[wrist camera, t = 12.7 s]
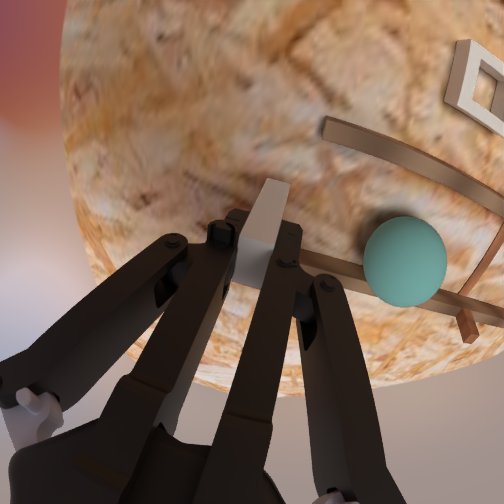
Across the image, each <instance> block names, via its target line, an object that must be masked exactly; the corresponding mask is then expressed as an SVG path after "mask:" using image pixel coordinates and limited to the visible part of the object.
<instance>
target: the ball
mask: <svg viewBox="0 0 504 504" xmlns="http://www.w3.org/2000/svg"><path fill="white" fill-rule="evenodd" d="M363 269H364V274H365V277H366V280H367V282H368V284H369V286H370V288H371V289H372V291H373V292H374V293H375V294H376V296H377V297H379V298H380V299H381V300H383V301H384V302H386V303H388V304H390V305H393V306H396V307H413V306H417V305H419V304H422V303H424V302H425V301H427V300H428V299H430V298H431V297H432V296H433V295H434V294H435V293H436V292H437V290H438V289H439V288H440V286H441V284H442V282H443V280H444V277H445V274H446V270H447V254H446V249H445V245H444V243H443V241H442V239H441V237H440V235H439V234H438V233H437V231H436V230H435V229H434V228H433V227H432V226H431V225H429V224H428V223H427V222H425V221H423V220H421V219H418V218H415V217H410V216H402V217H396V218H393V219H390V220H388V221H386V222H384V223H383V224H381V225H380V226H379V227H378V228H377V229H376V230H375V231H374V232H373V233H372V235H371V236H370V238H369V240H368V242H367V244H366V247H365V251H364V256H363Z"/></svg>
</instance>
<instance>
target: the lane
mask: <svg viewBox="0 0 504 504" xmlns="http://www.w3.org/2000/svg"><path fill="white" fill-rule="evenodd" d="M322 139H323V140H326V141H330V142H333V143H336V144H340V145H343V146H346V147H349V148H352V149H355V150H358V151H361V152H364V153H367V154H370V155H373V156H375V157H378V158H381V159H383V160H386V161H389V162H391V163H394V164H396V165H399V166H401V167H404V168H406V169H409V170H411V171H413V172H416V173H418V174H420V175H423V176H425V177H427V178H429V179H432V180H434V181H436V182H438V183H440V184H442V185H444V186H446V187H448V188H450V189H452V190H454V191H456V192H458V193H460V194H462V195H464V196H466V197H468V198H470V199H472V200H473V201H475V202H477V203H479V204H481V205H482V206H484V207H486V208H488V209H489V210H491V211H493V212H494V213H496V214H498V215H499V216H501V217H503V218H504V196H502V195H501V194H499V193H498V192H496V191H494V190H493V189H491V188H490V187H488V186H487V185H485V184H483V183H482V182H480V181H478V180H477V179H475V178H473V177H472V176H470V175H468V174H466V173H465V172H463V171H461V170H459V169H457V168H455V167H454V166H452V165H450V164H448V163H446V162H444V161H442V160H440V159H438V158H436V157H434V156H432V155H430V154H428V153H425V152H423V151H421V150H419V149H417V148H414V147H412V146H410V145H408V144H405V143H403V142H400V141H398V140H396V139H393V138H391V137H388V136H385V135H383V134H380V133H378V132H375V131H372V130H369V129H367V128H364V127H361V126H358V125H355V124H352V123H349V122H346V121H342V120H339V119H336V118H333V117H329V116H326V118H325V122H324V126H323V130H322ZM503 242H504V223H503V225H502V227H501V229H500V230H499V232H498V234H497V236H496V237H495V239H494V241H493V242H492V244H491V246H490V247H489V249H488V251H487V252H486V254H485V255H484V257H483V259H482V260H481V262H480V263H479V265H478V266H477V268H476V269H475V271H474V272H473V274H472V275H471V276H470V278H469V279H468V281H467V282H466V283H465V285H464V286H463V288H462V289H461V290H460V292H459V293H458V294H455V293H452V292H449V291H446V290H442V289H438V290H437V292H436V293H435V294H434V295H433V296H432V297H431V298H430V299H428V300H427V301H425V302H424V303H422V304H419V305H417V306H414V307H418V308H422V309H426V310H430V311H434V312H438V313H442V314H446V315H451V316H455V317H456V320H457V323H458V326H459V329H460V333H461V336H462V340H463V343H469V344H472V343H473V342H474V341H475V340H476V339H477V338H478V337H479V332H478V329H477V326H476V324H475V322H479V323H483V324H488V325H492V326H496V327H500V328H504V309H503V308H500V307H497V306H494V305H491V304H488V303H485V302H481V301H478V300H475V299H472V298H468V297H466V296H467V295H468V294H469V292H470V291H471V290H472V288H473V287H474V286H475V284H476V283H477V281H478V280H479V279H480V277H481V276H482V274H483V273H484V272H485V270H486V269H487V267H488V266H489V264H490V263H491V261H492V260H493V258H494V256H495V255H496V253H497V252H498V250H499V248H500V247H501V245H502V243H503ZM299 263H300V266H301V267H302V269H303V270H304V271H305V272H307V273H308V274H310V275H312V276H314V277H315V276H316V275H318V274H323V273H326V274H330V275H332V276H334V277H336V278H337V279H338V280H339V281H340V282H341V284H342V286H343V288H344V289H348V290H352V291H356V292H360V293H364V294H368V295H371V296H375V297H377V296H376V294H375V293H374V292H373V291H372V289H371V288H370V286H369V284H368V282H367V280H366V277H365V274H364V269H363V266H361V265H357V264H354V263H350V262H346V261H343V260H339V259H336V258H332V257H329V256H325V255H321V254H318V253H314V252H311V251H307V250H303V249H300V255H299Z"/></svg>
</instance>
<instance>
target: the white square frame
mask: <svg viewBox="0 0 504 504" xmlns="http://www.w3.org/2000/svg"><path fill="white" fill-rule="evenodd" d="M479 67H480V68H481V69H483V70H484V71H485V72H487V73H488V74H489V75H491V76H492V77H493V78H495V79H496V80H497V81H498V82H497V86H496V91H495V95H494V99H493V103H492V107H491V111H490V112H489V111H488V110H486V109H485V108H484V107H482V106H481V105H479V104H478V103H476V102H475V101H473V100H472V97H473V93H474V89H475V85H476V81H477V76H478V71H479ZM444 102H446V103H448V104H449V105H451V106H453V107H455V108H456V109H458V110H460V111H461V112H463V113H465V114H466V115H468V116H469V117H471V118H472V119H474V120H476V121H477V122H479V123H480V124H482V125H483V126H485V127H486V128H487V129H489V130H490V131H492V132H493V133H495V134H497V135H498V136H500V137H502V138H504V63H503V62H502V61H501V60H499V59H498V58H497V57H496V56H494V55H493V54H492V53H490V52H489V51H488V50H486V49H485V48H484V47H482V46H481V45H479V44H478V43H476V42H475V41H474V40H472V39H468V40H460V41H457V45H456V50H455V55H454V60H453V65H452V70H451V74H450V78H449V82H448V86H447V90H446V94H445V98H444Z"/></svg>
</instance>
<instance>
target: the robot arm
mask: <svg viewBox="0 0 504 504" xmlns="http://www.w3.org/2000/svg"><path fill="white" fill-rule="evenodd" d="M290 186H291V184H289V183H286V182H282V181H278V180H274V179H270V178H267V179H266V182H265V184H264V186H263V188H262V190H261V192H260V194H259V196H258V198H257V200H256V202H255V204H254V206H253V208H252V210H251V212H248V211H244V210H240V209H236V208H235V209H234V210H232V211H230V212H229V213H228V215H227V216H226V218H225V219H224V220H215V221H212V222H210V223H209V224H208V231H207V241H206V242H205V243H201V244H193V243H188V240H187V238H186V237H185V236H183V235H181V234H178V233H169V234H165V235H163V236H161V237H160V238H159V239H157V240H156V241H155V242H153V243H152V244H151V245H149V246H148V247H147V248H145V249H144V250H143V251H141V252H140V253H139V254H137V255H136V256H135V257H134V258H132V259H131V260H130V261H128V262H127V263H126V264H125V265H123V266H122V267H121V268H119V269H118V270H117V271H116V272H114V273H113V274H112V275H111V276H109V277H108V278H107V279H106V280H105V281H103V282H102V283H101V284H100V285H98V286H97V287H96V288H95V289H94V290H92V291H91V292H90V293H89V294H88V295H87V296H85V297H84V298H83V299H82V300H81V301H79V302H78V303H77V304H76V305H75V306H74V307H72V308H71V309H70V310H69V311H68V312H67V313H66V314H65V315H63V316H62V317H61V318H60V319H59V320H58V321H57V322H55V323H54V324H53V325H52V326H51V327H50V328H49V329H48V330H47V331H46V332H45V333H43V334H42V335H41V336H40V337H39V338H38V339H37V340H36V341H35V342H34V343H33V344H32V345H31V346H30V347H29V348H28V349H26V350H24V351H22V352H20V353H18V354H16V355H14V356H12V357H9V358H8V359H6V360H3V361H1V362H0V408H1V410H2V413H3V417H4V420H5V423H6V426H7V429H8V432H9V434H10V437H11V440H12V442H13V445H14V447H15V450H16V453H15V454H14V455H13V456H12V458H11V460H10V463H9V471H8V473H9V481H10V490H11V500H10V504H286V503H285V502H284V500H283V498H282V496H281V494H280V493H279V491H278V489H277V487H276V485H275V483H274V482H273V480H272V479H271V477H270V476H269V475H268V473H266V471H265V470H264V465H265V461H266V457H267V453H268V449H269V445H270V440H271V436H272V431H273V425H272V416H273V411H274V407H275V401H276V397H277V393H278V388H279V383H280V378H281V373H282V368H283V363H284V358H285V353H286V347H287V342H288V336H289V331H290V325H291V319H292V316H293V317H294V318H296V326H297V333H298V340H299V348H300V356H301V363H302V372H303V380H304V388H305V397H306V406H307V415H308V425H309V436H310V447H311V458H312V470H313V477H314V483H315V486H316V490H317V493H318V496H319V498H318V499H317V500H315V501H314V502H313V503H312V504H407V503H406V502H405V500H404V498H403V496H402V494H401V492H400V491H399V489H398V487H397V485H396V483H395V481H394V480H393V478H392V476H391V474H390V472H389V471H388V469H387V467H386V461H385V454H384V448H383V443H382V437H381V432H380V426H379V421H378V416H377V412H376V407H375V402H374V398H373V394H372V389H371V385H370V380H369V376H368V372H367V368H366V364H365V360H364V357H363V353H362V349H361V345H360V342H359V338H358V335H357V331H356V328H355V324H354V321H353V317H352V314H351V311H350V307H349V304H348V301H347V298H346V295H345V292H344V288H343V286H342V284H341V282H340V281H339V280H338V279H337V278H336V277H334V276H332V275H330V274H326V273H323V274H318V275H316V276H315V277H314V276H312V275H310V274H308V273H307V272H305V271H304V270H303V269H302V267H301V266H300V263H299V255H300V248H301V240H302V233H303V230H302V228H301V226H300V225H299V224H295V223H292V222H288V221H285V220H282V217H283V213H284V209H285V205H286V201H287V198H288V194H289V190H290ZM232 276H233V277H232ZM231 279H232V282H235V283H239V284H242V285H246V286H249V287H253V288H256V289H260V290H261V291H260V294H259V297H258V301H257V304H256V307H255V311H254V314H253V317H252V321H251V324H250V327H249V331H248V334H247V337H246V341H245V344H244V347H243V350H242V354H241V357H240V360H239V363H238V367H237V370H236V373H235V376H234V379H233V382H232V386H231V389H230V392H229V395H228V399H227V401H226V405H225V408H224V410H223V413H222V416H221V419H220V422H219V425H218V428H217V431H216V434H215V437H214V440H213V443H212V446H209V445H195V444H186V443H182V442H180V441H179V440H177V439H176V438H174V437H173V435H174V432H175V430H176V426H177V422H178V416H179V413H180V411H181V408H182V406H183V403H184V401H185V398H186V396H187V393H188V391H189V388H190V385H191V383H192V380H193V378H194V375H195V373H196V370H197V368H198V365H199V363H200V360H201V358H202V355H203V353H204V350H205V348H206V345H207V343H208V340H209V338H210V335H211V333H212V330H213V328H214V325H215V323H216V320H217V318H218V315H219V313H220V311H221V308H222V306H223V303H224V301H225V298H226V296H227V293H228V291H229V286H230V281H231ZM163 312H164V313H163ZM162 313H163V315H162V317H161V318H160V320H159V322H158V324H157V326H156V327H155V329H154V331H153V333H152V335H151V336H150V338H149V340H148V342H147V344H146V346H145V347H144V349H143V351H142V353H141V355H140V357H139V359H138V360H137V362H136V364H135V366H134V368H133V370H132V371H131V372H130V373H129V374H127V375H124V376H122V377H121V378H120V380H119V381H118V383H117V384H116V386H115V388H114V390H113V392H112V394H111V396H110V398H109V400H108V401H107V404H106V406H105V407H104V409H103V411H102V414H101V416H100V418H97V419H95V420H92V421H90V422H88V423H86V424H83V425H81V426H79V427H76V428H74V429H72V430H69V431H67V432H64V433H62V434H59V435H57V436H54V437H51V435H52V433H53V432H54V431H55V430H56V429H57V428H60V427H62V425H63V423H64V420H63V415H62V412H64V411H66V410H68V409H69V408H70V407H72V406H73V405H74V404H76V403H77V402H78V401H79V400H80V399H81V398H82V397H83V396H84V395H85V394H86V393H87V392H88V391H89V390H90V389H91V388H92V387H93V386H94V385H95V383H96V382H97V381H98V380H99V379H100V378H101V377H102V376H103V375H104V374H105V373H106V372H107V371H108V370H109V368H110V367H111V366H112V365H113V364H114V363H115V362H116V361H117V360H118V359H119V358H120V357H121V356H122V355H123V354H124V353H125V352H126V351H127V350H128V348H129V347H130V346H131V345H132V344H133V343H134V342H135V341H136V340H137V339H138V338H139V337H140V336H141V335H142V334H143V333H144V332H145V331H146V330H147V329H148V328H149V327H150V326H151V325H152V323H153V322H154V321H155V320H156V319H157V318H158V317H159V316H160V315H161V314H162Z"/></svg>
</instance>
